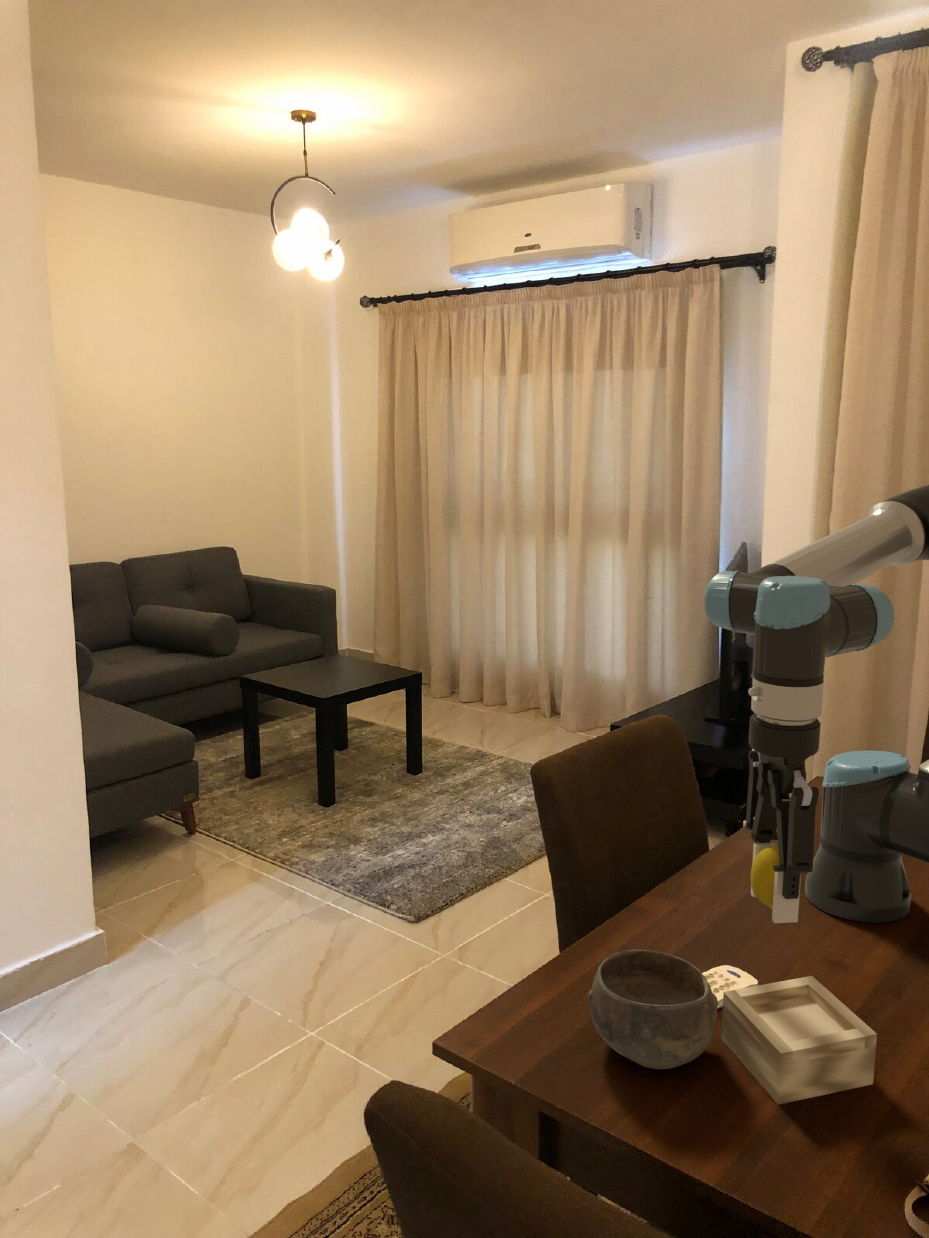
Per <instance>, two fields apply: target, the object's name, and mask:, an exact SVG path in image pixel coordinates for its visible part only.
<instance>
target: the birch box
mask: <svg viewBox="0 0 929 1238" xmlns="http://www.w3.org/2000/svg"><path fill="white" fill-rule="evenodd" d="M722 998H723V999H722V1000H723V1001H722V1016H721V1017H722V1019H721V1021H722V1022H721V1040H722V1041H723V1042H724V1044H725V1045H726V1046H727V1047H728V1048H729V1049H730V1050H731V1051H732V1053H733V1054H734V1055H735V1056H736V1057H737V1058H738V1060H739V1061H740V1062H741V1064H742V1065H743V1066H745V1068H746V1069H747V1070H748V1071H749V1073H750V1074H751V1075H752V1076H753V1077H754V1078H755V1080H756V1081H757V1082H758V1083H759V1085H761V1086H762V1088H763V1089H764V1090H765V1091H766V1093H768V1095H769V1096H770V1097H771V1098H772V1100H774V1102H775V1103H776V1104H777V1105H778V1106H779V1105H783V1104H788V1103H793V1102H797V1101H802V1100H806V1099H809V1098H810V1099H811V1098H816V1097H820V1096H824V1095H829V1094H834V1093H838V1092H839V1093H840V1092H843V1091H848V1090H853V1089H856V1088H857V1089H858V1088H863V1087H866V1086H871V1085H874V1078H875V1077H874V1076H875V1065H876V1064H875V1063H876V1053H877V1052H876V1051H877V1038H878V1033H876V1031H874V1030H873V1029H872V1028H871V1027H870V1026H869V1025H867V1024H866V1023H865V1022H864V1021H863V1020H862V1019H861V1018H860V1017H858V1015H856V1014H855V1013H854V1012H853V1011H852V1010H851V1009H850V1008H848V1007H847V1005H845V1004H844V1003H843V1002H842V1001H840V1000H839V999H838V998H837V997H836V996H835V995H834V994H833V993H832V992H831V991H830V990H829V989H828V988H827V987H825V986H824V985H823V984H822V983H820V982H819V980H817V979H816V978H815V977H814V976H813V975H808V976H804V977H799V978H794V979H787V980H782V981H781V980H780V981H775V982H771V983H770V982H769V983H764V984H760V985H753V986H748V987H743V988H737V989H732V990H726V991H723V996H722Z"/></svg>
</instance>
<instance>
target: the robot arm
mask: <svg viewBox="0 0 929 1238" xmlns="http://www.w3.org/2000/svg"><path fill="white" fill-rule="evenodd" d="M914 561H915V562H916V561H929V484H926V485H923V486H919V487H916V488H913V489H909V490H907V491H905V492H904V491H903V492H902V493H899V494H897V495H893V496H892V497H889V498H887V499H884V500H883V501H881V502H879V503H876V504H874V505H872V506H871V507H870V508H868V510H867V511H866V512H865V513H864V516H863V517H862V519H860V520H858V521H855V522H853V523H851V524H849V525H847V526H845V527H843V528H841V529H838V530H837V531H835V532H833V533H831V534H830V533H829V535H826V536H824V537H822V538H820V539H818V540H816V541H814V542H811V543H810V544H808V545H806V546H804V547H801V548H799V549H798V550H795V551H793V552H792V553H789V554H787V555H785V556H783V557H781V558H779V559H777V560H775V561H774V560H773V561H772V562H771V563H768V564H766V565H764V566H762V567H760V568H757V569H756V570H753V571H750V572H742V571H741V570H735V571H733V570H725V571H720V572H718V573H717V574H715V575H714V576H713V577H711V580H710V581H709V582H708V584H707V586H706V588H705V592H704V596H703V604H704V612H705V615H706V618H707V619H708V620H709V622H710V623H711V624H712V625H713V626H716V627H719V628H721V629H725V630H728V631H732V632H733V633H735V634H736V633H741V634H742V633H743V634H747V635H753V636H754V651H753V653H754V655H753V656H754V657H753V660H754V661H753V668H752V682H751V683H752V686H751V687H750V688H748V696H750V697H751V701H750V704H751V706H750V709H751V711H752V712H754V713H753V714H751V716H750V717H749V730H748V744H749V746H750V748H751V749H752V750H749V751H748V765H749V772H748V774H749V775H748V788H747V801H746V813H745V814H746V815H745V828H746V829H747V831H751V833H750V837H751V840H752V841H753V842H754V843H753V844H752V845H753V846H752V847H753V848H752V864H751V866H752V865H753V862H754V860H755V858H756V856H757V855H758V853H759V852H761V851H762V850H763V849H765V848H768V847H772V846H774V845H778V849H779V865H773V869H774V871H775V877H774V894H773V910H772V909H771V912H772V913H771V921H772V922H773V924H787V923H798V922H799V910H800V909H799V906H800V894H801V893H800V892H801V886H800V880H801V881H802V877H801V875H802V874H804V873H805V874H806V877H805V880H804V881H805V882H804V885H805V886H804V894H805V896H806V898H807V900H808V901H809V902H810V903H811V904H812V905H814V906H815V907H816V908H818V909H820V910H821V911H822V912H825V913H827V914H830V915H832V916H835V917H838V918H842V919H845V920H849V921H854V922H862V923H870V924H871V923H872V924H873V923H874V924H875V923H876V924H877V923H889V922H890V923H891V922H895V921H898V920H900V919H902V918H903V919H904V918H905V917H906V916H907V915H908V914H909V913H910V910H911V904H912V903H911V902H912V892H911V887H910V885H909V881H908V877H907V873H906V870H905V866H904V862H903V859H902V857H903V856H902V855H905V856H907V857H910V858H913V859H916V860H919V861H922V862H924V863H927V864H929V759H927V760H926V761H924V762H922V763H920V764H919V767H918V772H917V773H914V772H910V770H911V768H912V767H911V765H910V760H909V759H908V757H905V756H904V755H902V754H900V753H896V752H890V751H883V750H854V751H852V750H851V751H847V752H842V753H838V754H835V755H834V756H833V757H831V758H830V759H828V761H827V762H826V764H825V769H824V776H823V781H822V784H821V785H822V800H821V801H822V802H821V814H820V815H821V819H820V835H819V836H820V838H819V847H818V848H817V851H816V853H815V854H814V848H815V827H816V809H817V804H818V801H819V797H820V790H819V787H818V786H809V785H808V783H807V771H806V769H807V768H806V761H807V759H808V758H810V757H812V756H814V755H816V754H817V753H818V751H819V750H820V740H821V738H820V737H821V725H822V723H821V721H820V720H819V718H820V717H821V716H822V713H823V700H824V689H825V688H824V686H825V680H824V677H825V676H824V675H825V667H826V658H829V657H833V656H837V655H843V654H848V653H851V652H860V651H865V650H867V649H868V648H871V647H872V646H876V645H878V644H879V643H881V642H884V640H886V639H887V638H888V636H889V635H890V633H891V632H892V630H893V626H894V624H895V623H894V622H895V610H894V606H893V604H892V602H891V599H889V597H888V596H887V594H886V593H885V592H884V591H882V589H880V588H878V587H876V586H874V585H871V584H858V583H860V582H861V581H863V580H865V579H867V578H869V577H871V576H873V575H874V574H876V573H878V572H881V571H883V570H884V569H886V568H888V567H902V566H906V565H909V564H912V562H914ZM771 841H777V842H771ZM814 855H815V856H814ZM750 895H751V897H752V898H757V897H756V895H755V894H754V892H753V889H752V885H750Z"/></svg>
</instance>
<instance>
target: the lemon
mask: <svg viewBox="0 0 929 1238" xmlns="http://www.w3.org/2000/svg"><path fill="white" fill-rule="evenodd" d="M752 862H753V861H752ZM773 865H779V849H778V845H774V846H772V847H768V848H765V849H763V850H762V851H761V852H759V853H758V855H757V856H756V858H755V860H754V862H753V865H752V864H751V870H750V884H751V885H752V889H753V892H754V894H755V895H756V897H755V898H757V900H759V902H761V903H762V904H764V905H765V906H767V907H768V908H770V910H771V911H772V910H773V894H774V877H775V871H774V869H773ZM801 883H802V879H801V880H800V887H801V885H802V884H801ZM751 885H750V886H751Z"/></svg>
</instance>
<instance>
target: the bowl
mask: <svg viewBox="0 0 929 1238" xmlns="http://www.w3.org/2000/svg"><path fill="white" fill-rule="evenodd" d="M712 990H713V989H712V987H711V986H710V984H709V982H708V979H707V978H706V977H705V975H704V974H703V973H702V972H701V970H700V969H699V968H697V966H696V965H694V964H693V963H691V962H689V961H687V960H685V959H684V958H681V957H678V956H676V955H672V954H669V953H665V952H662V951H661V952H660V951H656V950H651V949H647V950H646V949H627V950H621V951H619V952H618V951H617V952H615V953H613V954H611V955H609V956H608V957H606V958H605V959H604V960H603V961H602V962H601V963H600V965H598V968H597V971H596V973H595V974H594V977H593V982H592V986H591V989H590V990H589V991H588V995H587V997H588V1001H589V1011H590V1018H591V1021H592V1024H593V1026H594V1029H595V1031H596V1032H597V1034H598V1035H599V1037H600V1038H601V1039H603V1041H604V1042H605V1043H606V1044H607V1045H608V1046H609V1047H610V1048H611V1049H612V1050H614V1051H615V1052H617V1054H619V1055H621V1056H623V1057H624V1058H626V1059H629V1060H631V1061H633V1062H635V1063H636V1064H638V1065H639V1066H641V1067H644V1068H648V1069H655V1070H671V1069H673V1068H677V1067H678V1068H679V1067H680V1066H683V1065H685V1064H688V1063H691V1062H692V1061H694V1060H695V1059H697V1058H698V1057H699V1056H701V1055H702V1054H703V1053H704V1052H705V1051H706V1049H707V1048H708V1047H709V1045H710V1044H711V1041H712V1040H713V1038H714V1035H715V1030H716V1026H717V1021H718V1006H719V1000H718V997H717V996H716V995H715V994H714V993H713V991H712Z"/></svg>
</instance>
